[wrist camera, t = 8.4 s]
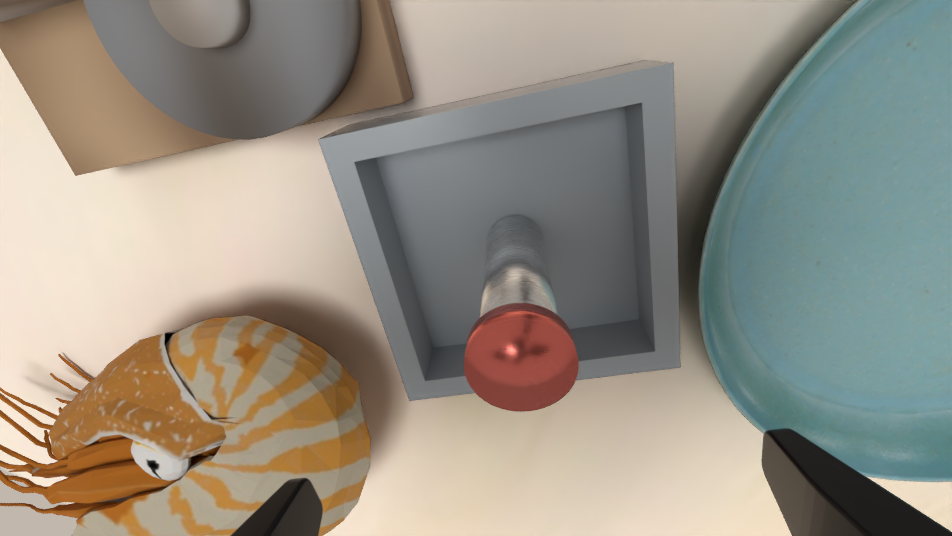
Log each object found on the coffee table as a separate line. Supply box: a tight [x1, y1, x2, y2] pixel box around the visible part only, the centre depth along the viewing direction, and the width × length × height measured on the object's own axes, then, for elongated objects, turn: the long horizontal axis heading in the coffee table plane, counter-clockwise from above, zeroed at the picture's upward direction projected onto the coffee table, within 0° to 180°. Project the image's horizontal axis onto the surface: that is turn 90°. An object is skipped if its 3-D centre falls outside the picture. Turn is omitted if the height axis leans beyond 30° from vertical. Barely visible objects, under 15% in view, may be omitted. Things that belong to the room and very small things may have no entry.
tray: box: [318, 60, 681, 401], centre depth 19 cm, size 12×12×3 cm
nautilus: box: [0, 315, 370, 536], centre depth 22 cm, size 8×22×15 cm
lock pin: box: [464, 214, 579, 411], centre depth 16 cm, size 3×3×9 cm
